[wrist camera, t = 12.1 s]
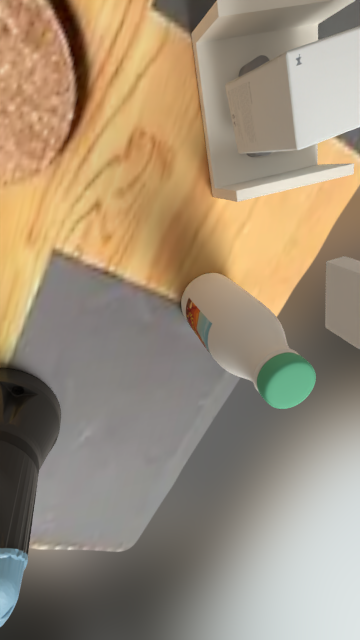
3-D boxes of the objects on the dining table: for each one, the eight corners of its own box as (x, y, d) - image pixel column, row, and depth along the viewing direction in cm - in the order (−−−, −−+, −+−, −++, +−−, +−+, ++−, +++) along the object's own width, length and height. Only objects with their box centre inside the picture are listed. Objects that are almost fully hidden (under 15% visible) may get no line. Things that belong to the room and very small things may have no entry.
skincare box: (238, 158, 33) (297, 153, 24) (223, 84, 30) (283, 45, 21) (329, 124, 34) (419, 106, 25) (322, 49, 31) (422, -3, 22)
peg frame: (212, 196, 38) (237, 201, 32) (191, 33, 32) (216, -1, 25) (312, 173, 40) (353, 174, 34) (311, 15, 34) (362, -20, 27)
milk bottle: (186, 267, 41) (264, 339, 23) (241, 275, 43) (349, 346, 26) (174, 323, 44) (235, 426, 26) (226, 328, 46) (314, 426, 28)
